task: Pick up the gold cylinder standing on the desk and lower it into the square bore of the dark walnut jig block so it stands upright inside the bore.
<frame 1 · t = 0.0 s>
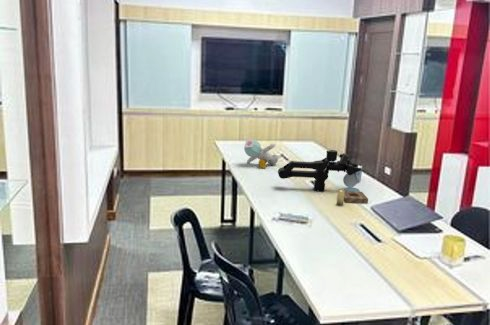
hand: (359, 167, 291), 17 cm above the table, tool horizontal, fingers open, 9 cm apart
gold cylinder: (339, 204, 269), on the table
toy: (260, 166, 347), on the table
light bulb box: (354, 181, 320), on the table
jig block: (353, 199, 280), on the table
pocket watch: (351, 192, 296), on the table
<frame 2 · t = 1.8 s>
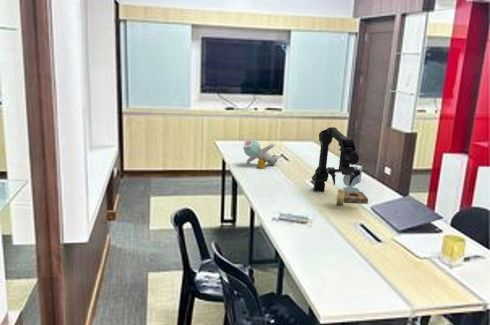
hand: (341, 185, 266), 12 cm above the table, tool pointing down, fingers open, 9 cm apart
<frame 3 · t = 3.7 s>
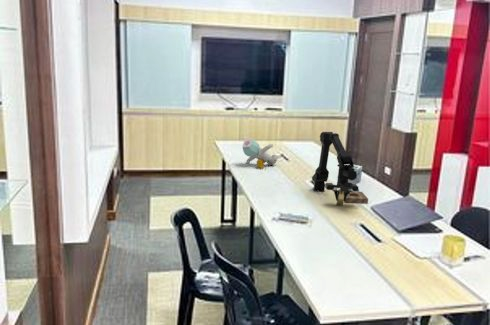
hand: (340, 200, 268), 3 cm above the table, tool pointing down, fingers closed on gold cylinder, 4 cm apart
gold cylinder: (339, 204, 269), on the table, touching gripper
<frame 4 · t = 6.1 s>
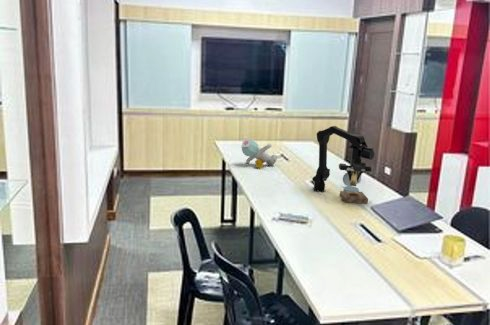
hand: (353, 181, 275), 12 cm above the table, tool pointing down, fingers closed on gold cylinder, 4 cm apart
gold cylinder: (352, 185, 275), point 10 cm above the table, touching gripper
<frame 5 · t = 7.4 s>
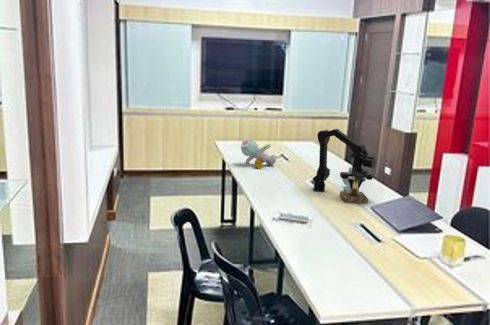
hand: (354, 189, 278), 7 cm above the table, tool pointing down, fingers closed on gold cylinder, 4 cm apart
gold cylinder: (354, 193, 279), point 4 cm above the table, touching gripper
when the fingers open (4 cm above the table, at t = 8.6 s): gold cylinder drops 2 cm, resting in jig block.
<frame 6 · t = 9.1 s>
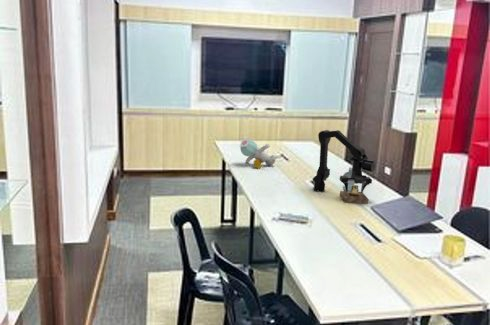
hand: (354, 192, 279), 4 cm above the table, tool pointing down, fingers open, 9 cm apart
gold cylinder: (353, 199, 280), resting in jig block
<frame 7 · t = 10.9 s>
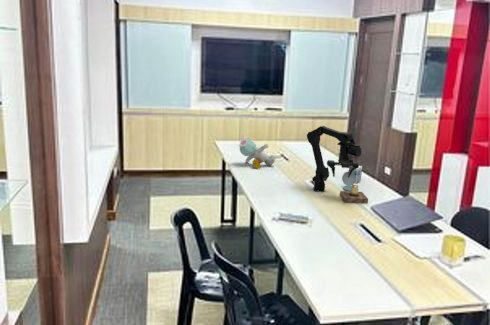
hand: (341, 177, 280), 13 cm above the table, tool pointing down, fingers open, 9 cm apart
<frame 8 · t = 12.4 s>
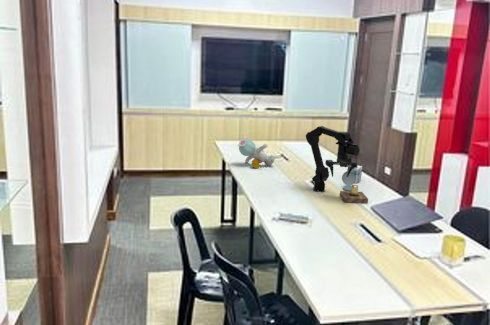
hand: (339, 176, 280), 13 cm above the table, tool pointing down, fingers open, 9 cm apart
at the end: gold cylinder 0.0 cm off-centre on the jig block, point 0.0 cm above the jig block's base; gold cylinder tilted 0°; the gripper is holding nothing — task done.
